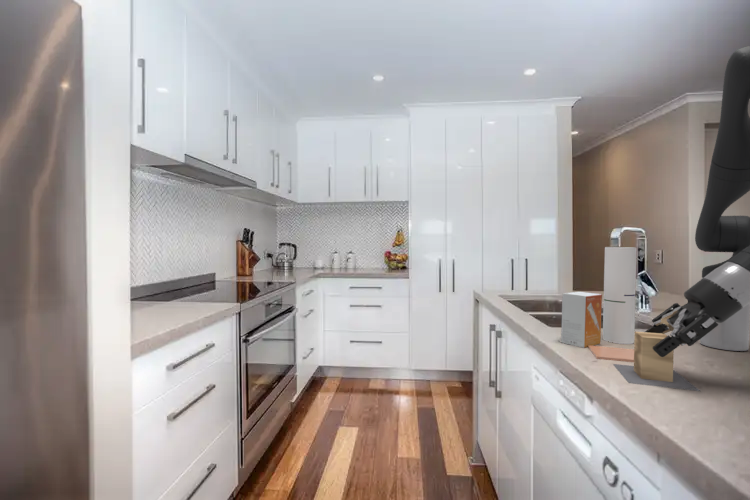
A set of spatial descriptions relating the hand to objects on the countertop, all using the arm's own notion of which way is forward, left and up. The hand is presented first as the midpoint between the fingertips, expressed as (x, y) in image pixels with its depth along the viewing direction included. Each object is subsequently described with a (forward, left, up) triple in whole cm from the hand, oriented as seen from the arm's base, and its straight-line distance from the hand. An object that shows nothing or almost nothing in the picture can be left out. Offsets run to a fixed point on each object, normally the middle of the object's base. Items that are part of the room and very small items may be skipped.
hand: (649, 347), depth 76 cm
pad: (-14, -2, -6) cm, 15 cm away
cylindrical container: (-30, +2, -6) cm, 31 cm away
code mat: (0, +1, -6) cm, 6 cm away
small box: (-23, -8, -6) cm, 25 cm away
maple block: (0, +1, -6) cm, 6 cm away
